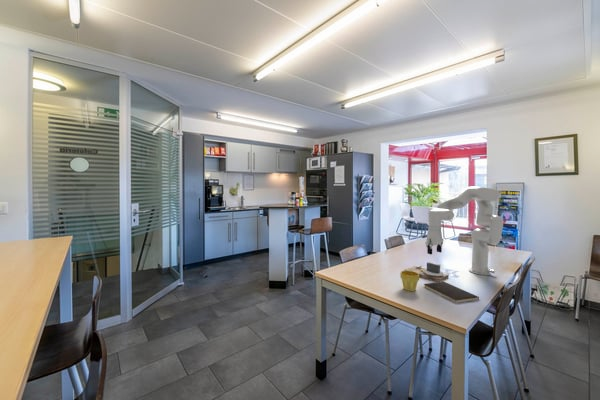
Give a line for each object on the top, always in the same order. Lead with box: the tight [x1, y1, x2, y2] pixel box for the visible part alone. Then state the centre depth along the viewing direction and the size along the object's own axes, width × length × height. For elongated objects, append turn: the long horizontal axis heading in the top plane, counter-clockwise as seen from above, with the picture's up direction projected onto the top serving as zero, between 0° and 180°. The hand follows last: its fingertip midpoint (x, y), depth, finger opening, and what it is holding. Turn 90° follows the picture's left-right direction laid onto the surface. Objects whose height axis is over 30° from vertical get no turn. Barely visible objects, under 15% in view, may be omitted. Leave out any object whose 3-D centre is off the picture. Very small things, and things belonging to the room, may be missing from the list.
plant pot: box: [399, 270, 420, 292], centre depth 151 cm, size 10×10×10 cm
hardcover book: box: [423, 281, 480, 304], centre depth 146 cm, size 16×23×2 cm
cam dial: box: [420, 261, 444, 277], centre depth 173 cm, size 15×12×7 cm
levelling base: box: [403, 265, 449, 283], centre depth 176 cm, size 24×14×4 cm, turn 38°
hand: (434, 253), depth 171 cm, fingers open, 9 cm apart
